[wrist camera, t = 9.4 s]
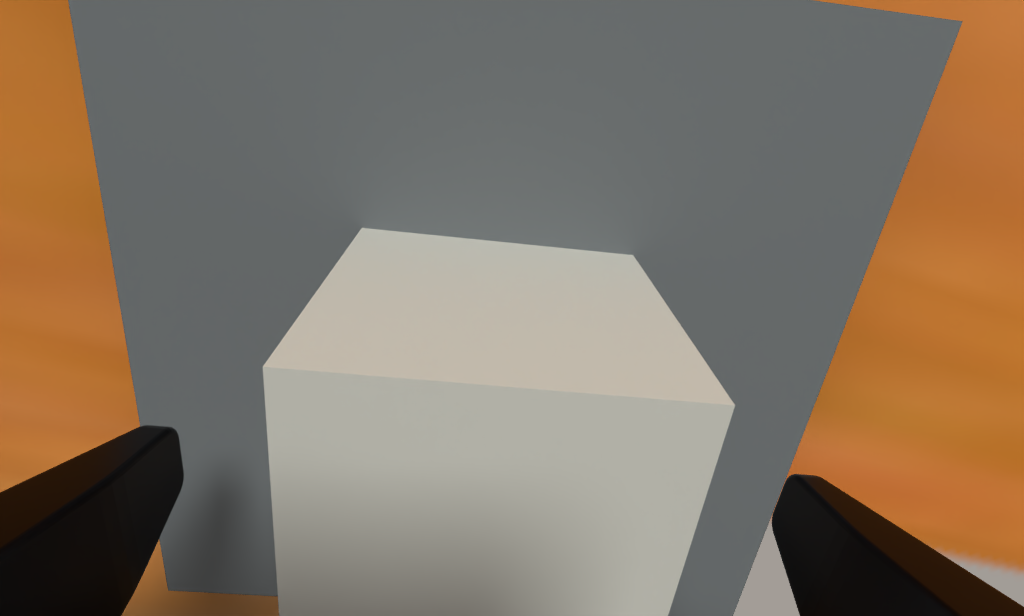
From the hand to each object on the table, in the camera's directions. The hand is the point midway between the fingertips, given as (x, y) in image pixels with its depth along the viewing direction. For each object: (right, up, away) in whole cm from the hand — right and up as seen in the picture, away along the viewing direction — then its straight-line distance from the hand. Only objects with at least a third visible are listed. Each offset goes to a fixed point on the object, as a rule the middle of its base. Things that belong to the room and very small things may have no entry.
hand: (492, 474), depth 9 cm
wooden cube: (0, +1, +3) cm, 3 cm away
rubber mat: (0, +2, +4) cm, 5 cm away
